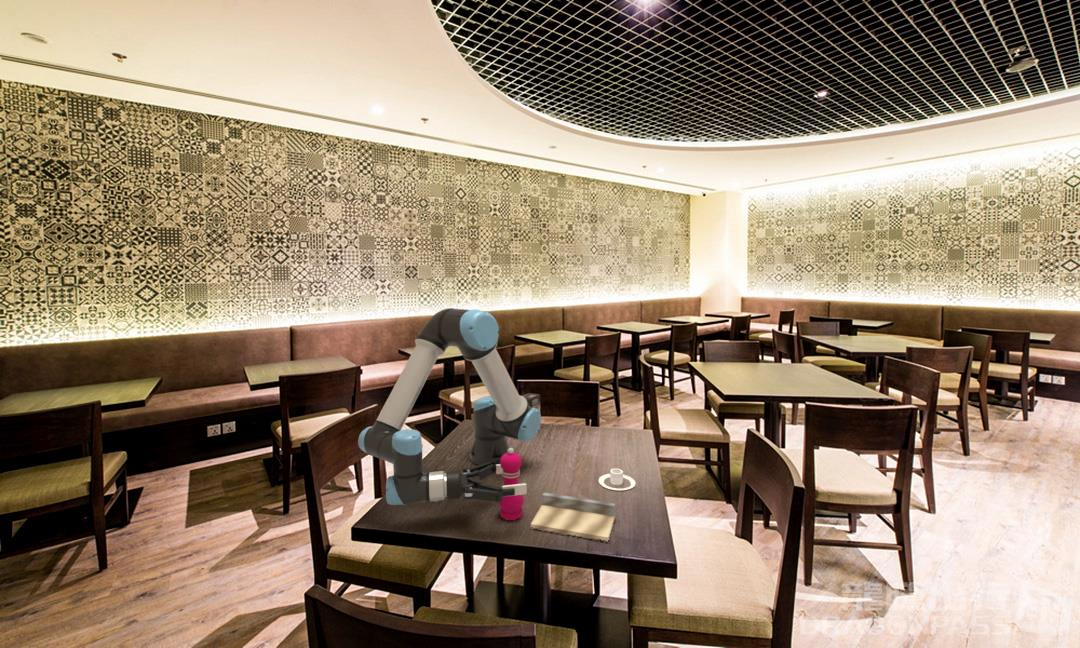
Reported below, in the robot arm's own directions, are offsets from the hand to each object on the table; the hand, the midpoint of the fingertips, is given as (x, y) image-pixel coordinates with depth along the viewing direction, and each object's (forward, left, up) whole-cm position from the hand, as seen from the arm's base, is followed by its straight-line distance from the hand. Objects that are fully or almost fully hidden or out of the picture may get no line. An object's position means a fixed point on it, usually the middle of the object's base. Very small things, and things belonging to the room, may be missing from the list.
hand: (522, 477), depth 127 cm
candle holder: (+23, +27, -12) cm, 38 cm away
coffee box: (-20, +63, -11) cm, 67 cm away
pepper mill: (-3, -2, -11) cm, 12 cm away
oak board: (+15, -1, -11) cm, 19 cm away
